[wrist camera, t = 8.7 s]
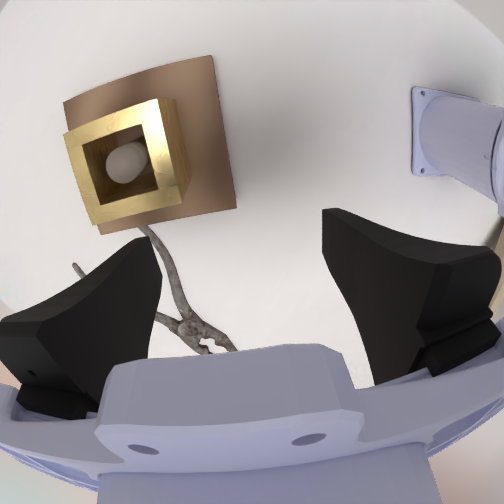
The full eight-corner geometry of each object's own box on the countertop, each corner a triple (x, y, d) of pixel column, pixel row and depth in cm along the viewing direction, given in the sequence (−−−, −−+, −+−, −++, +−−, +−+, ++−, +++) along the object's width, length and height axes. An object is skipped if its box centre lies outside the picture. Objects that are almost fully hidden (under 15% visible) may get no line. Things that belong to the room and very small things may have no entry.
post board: (212, 58, 15) (207, 40, 10) (235, 200, 21) (240, 237, 16) (72, 101, 15) (26, 108, 10) (107, 226, 21) (78, 266, 16)
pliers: (109, 199, 19) (282, 323, 28) (113, 195, 20) (281, 317, 28) (66, 274, 22) (221, 366, 31) (70, 269, 23) (220, 361, 31)
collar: (174, 98, 15) (156, 98, 11) (191, 177, 18) (182, 203, 14) (98, 123, 15) (63, 134, 11) (119, 195, 18) (92, 225, 14)
